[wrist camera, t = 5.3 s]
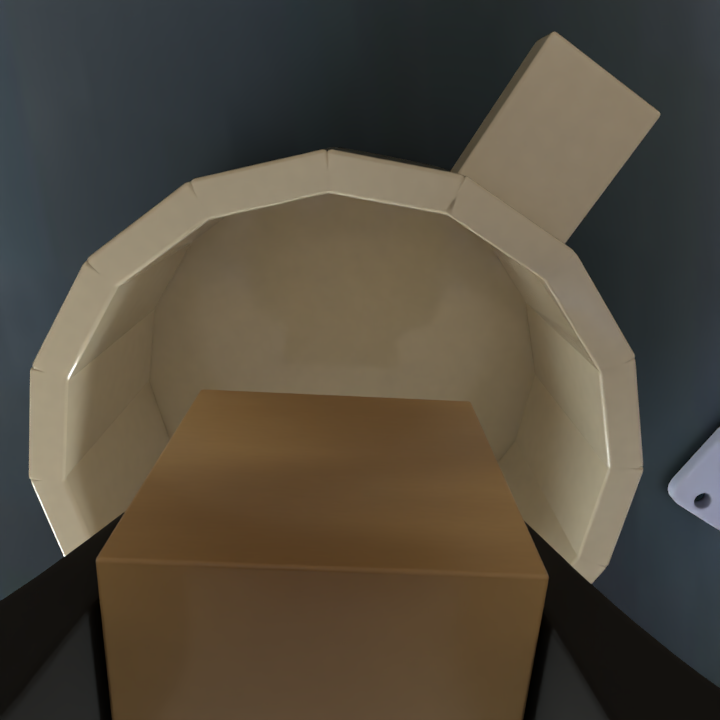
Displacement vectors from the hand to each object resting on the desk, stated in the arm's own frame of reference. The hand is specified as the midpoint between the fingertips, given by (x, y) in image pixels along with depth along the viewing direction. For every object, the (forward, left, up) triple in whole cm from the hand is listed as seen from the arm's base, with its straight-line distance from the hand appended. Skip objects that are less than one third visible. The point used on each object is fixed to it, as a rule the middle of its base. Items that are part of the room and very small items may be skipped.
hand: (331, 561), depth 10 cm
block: (0, 0, -1) cm, 1 cm away
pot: (0, 0, -9) cm, 9 cm away
